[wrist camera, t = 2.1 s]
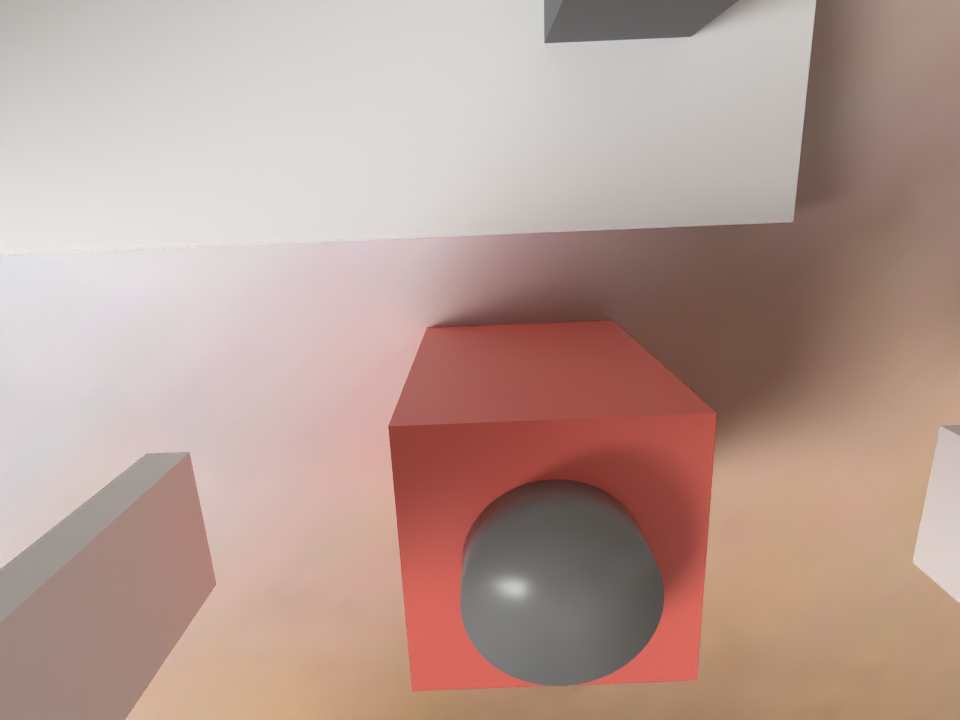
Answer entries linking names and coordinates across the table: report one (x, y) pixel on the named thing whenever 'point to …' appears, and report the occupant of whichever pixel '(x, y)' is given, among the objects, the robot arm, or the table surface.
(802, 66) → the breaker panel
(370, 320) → the table surface
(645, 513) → the cap
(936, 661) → the table surface
